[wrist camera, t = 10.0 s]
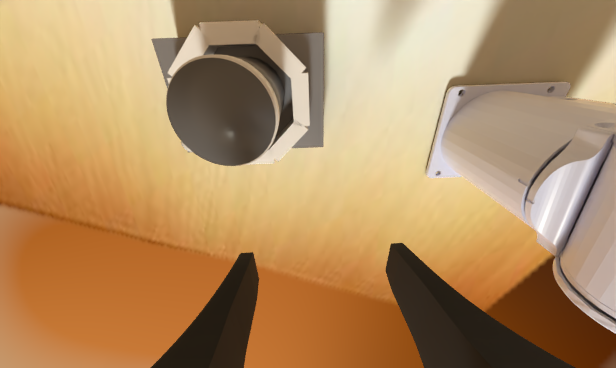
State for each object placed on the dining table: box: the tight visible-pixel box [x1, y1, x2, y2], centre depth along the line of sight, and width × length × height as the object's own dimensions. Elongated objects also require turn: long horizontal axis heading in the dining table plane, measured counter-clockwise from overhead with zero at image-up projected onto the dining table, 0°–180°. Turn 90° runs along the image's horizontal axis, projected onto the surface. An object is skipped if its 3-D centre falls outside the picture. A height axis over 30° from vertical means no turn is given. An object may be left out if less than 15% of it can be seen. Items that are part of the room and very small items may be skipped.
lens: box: [167, 54, 285, 166], centre depth 12 cm, size 5×5×6 cm
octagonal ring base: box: [152, 20, 324, 165], centre depth 15 cm, size 10×8×4 cm
